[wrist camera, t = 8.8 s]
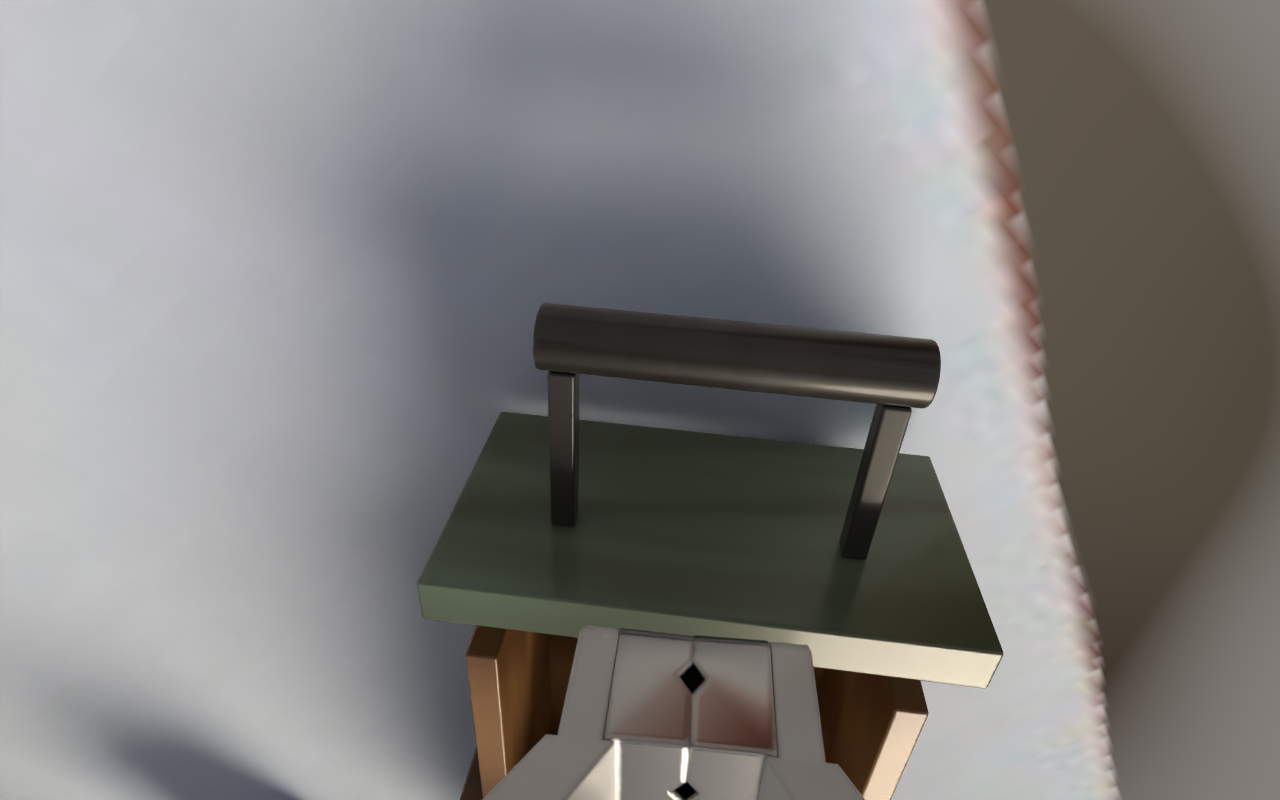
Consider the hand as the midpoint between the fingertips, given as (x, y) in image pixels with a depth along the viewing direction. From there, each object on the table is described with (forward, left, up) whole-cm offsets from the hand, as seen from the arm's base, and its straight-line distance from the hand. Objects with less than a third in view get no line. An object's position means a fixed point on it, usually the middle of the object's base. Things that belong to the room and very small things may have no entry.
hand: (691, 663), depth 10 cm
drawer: (+9, -2, -11) cm, 14 cm away
